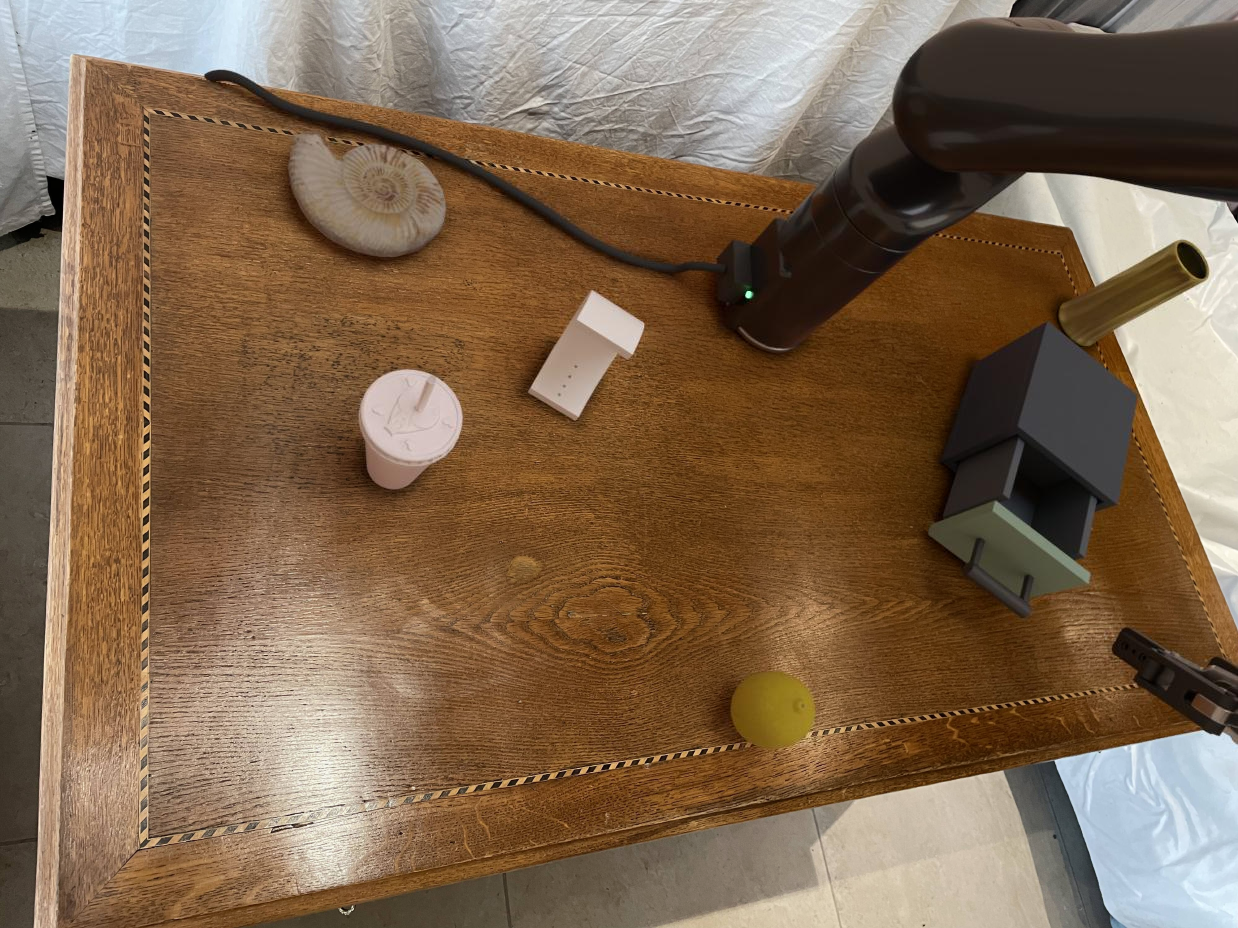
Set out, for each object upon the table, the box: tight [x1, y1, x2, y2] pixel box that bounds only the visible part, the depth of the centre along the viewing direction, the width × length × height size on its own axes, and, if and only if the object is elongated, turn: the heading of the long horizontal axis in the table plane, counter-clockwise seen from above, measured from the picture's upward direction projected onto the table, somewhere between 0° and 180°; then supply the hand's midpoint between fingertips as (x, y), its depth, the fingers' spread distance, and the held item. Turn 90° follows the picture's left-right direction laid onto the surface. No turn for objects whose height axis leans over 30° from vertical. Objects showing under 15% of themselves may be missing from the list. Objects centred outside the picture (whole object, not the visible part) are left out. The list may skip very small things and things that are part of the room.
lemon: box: [730, 670, 816, 750], centre depth 58 cm, size 6×6×8 cm
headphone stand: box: [527, 289, 645, 422], centre depth 61 cm, size 5×6×12 cm
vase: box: [1057, 238, 1210, 347], centre depth 91 cm, size 6×6×14 cm
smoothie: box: [358, 368, 463, 490], centre depth 52 cm, size 6×6×14 cm
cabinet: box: [940, 320, 1139, 513], centre depth 80 cm, size 15×13×10 cm
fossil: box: [287, 130, 447, 258], centre depth 63 cm, size 12×5×10 cm
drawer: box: [927, 434, 1097, 619], centre depth 74 cm, size 18×11×8 cm, turn 151°
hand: (1165, 653), depth 57 cm, fingers open, 8 cm apart
